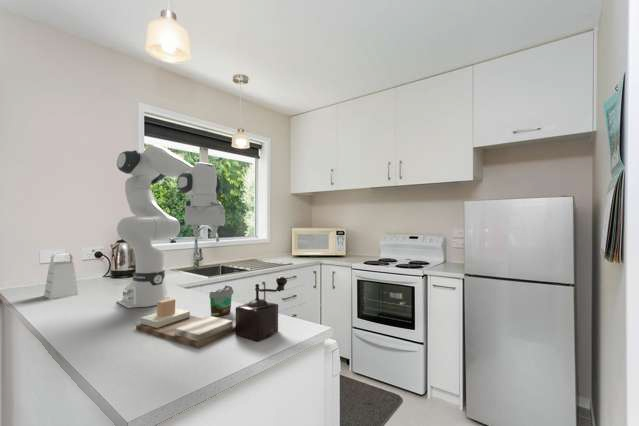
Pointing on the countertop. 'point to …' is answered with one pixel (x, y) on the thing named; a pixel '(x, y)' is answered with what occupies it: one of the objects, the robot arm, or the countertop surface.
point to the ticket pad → (173, 337)
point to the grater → (61, 279)
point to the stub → (165, 314)
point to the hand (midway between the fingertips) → (204, 236)
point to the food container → (221, 301)
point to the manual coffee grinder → (258, 316)
